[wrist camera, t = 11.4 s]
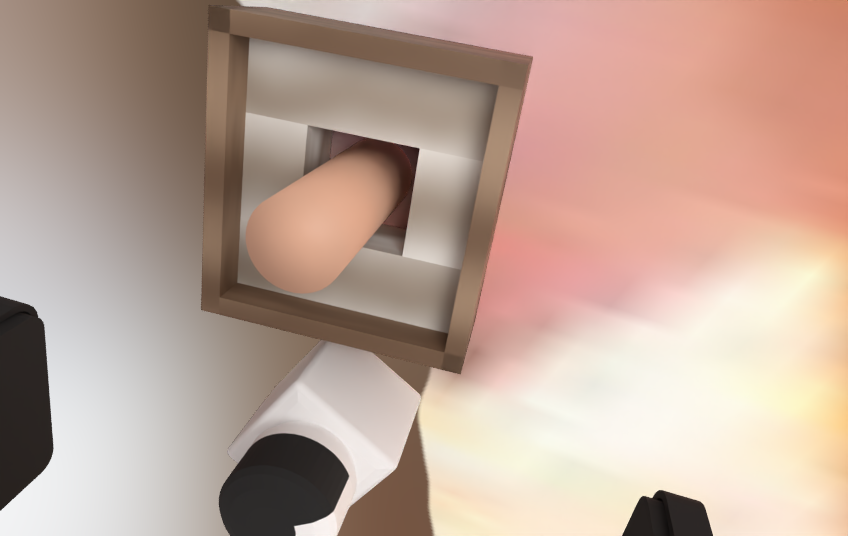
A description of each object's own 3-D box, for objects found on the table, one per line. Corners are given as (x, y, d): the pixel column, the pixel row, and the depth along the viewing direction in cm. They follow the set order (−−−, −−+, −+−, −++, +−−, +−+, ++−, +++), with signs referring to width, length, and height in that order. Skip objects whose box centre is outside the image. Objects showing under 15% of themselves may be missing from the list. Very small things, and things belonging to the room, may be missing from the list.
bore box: (266, 7, 33) (208, 5, 27) (533, 56, 31) (528, 65, 26) (251, 268, 39) (201, 309, 33) (474, 321, 37) (460, 374, 32)
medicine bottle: (274, 386, 42) (174, 517, 31) (339, 320, 39) (254, 438, 28) (354, 455, 42) (284, 607, 31) (424, 395, 40) (374, 539, 29)
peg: (346, 131, 34) (248, 183, 23) (417, 145, 34) (351, 207, 23) (338, 200, 36) (243, 280, 25) (406, 215, 35) (339, 303, 24)
